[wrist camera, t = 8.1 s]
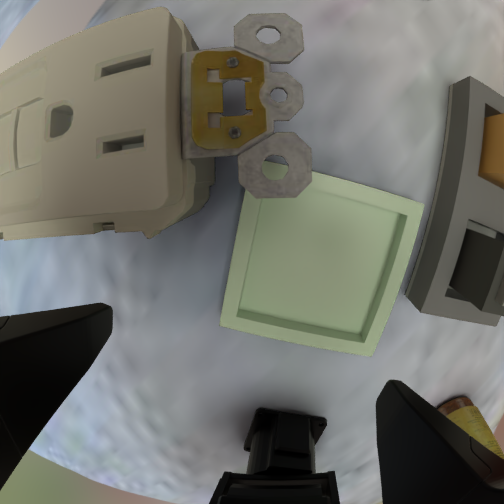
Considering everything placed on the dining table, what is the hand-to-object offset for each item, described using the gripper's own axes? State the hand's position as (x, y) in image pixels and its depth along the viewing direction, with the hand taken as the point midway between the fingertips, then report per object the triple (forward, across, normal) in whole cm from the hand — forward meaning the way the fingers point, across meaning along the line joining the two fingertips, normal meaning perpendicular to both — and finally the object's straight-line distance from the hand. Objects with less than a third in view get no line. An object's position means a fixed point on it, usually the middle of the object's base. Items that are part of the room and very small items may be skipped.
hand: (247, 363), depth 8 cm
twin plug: (+11, -14, -4) cm, 18 cm away
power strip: (+12, -14, -8) cm, 20 cm away
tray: (+12, -3, -1) cm, 12 cm away
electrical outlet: (+12, +14, -5) cm, 19 cm away
